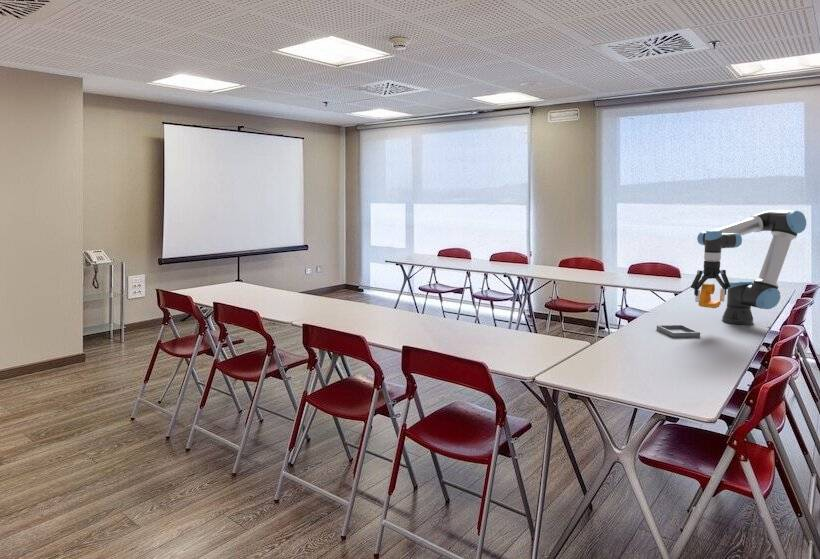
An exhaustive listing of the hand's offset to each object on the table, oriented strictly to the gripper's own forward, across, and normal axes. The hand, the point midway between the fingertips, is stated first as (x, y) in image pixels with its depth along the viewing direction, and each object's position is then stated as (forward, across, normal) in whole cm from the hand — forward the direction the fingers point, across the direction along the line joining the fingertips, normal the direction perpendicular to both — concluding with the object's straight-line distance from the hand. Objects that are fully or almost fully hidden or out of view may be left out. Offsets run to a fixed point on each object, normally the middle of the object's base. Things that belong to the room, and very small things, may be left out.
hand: (709, 301), depth 294 cm
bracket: (+3, 0, 0) cm, 3 cm away
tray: (+16, +18, +3) cm, 24 cm away
